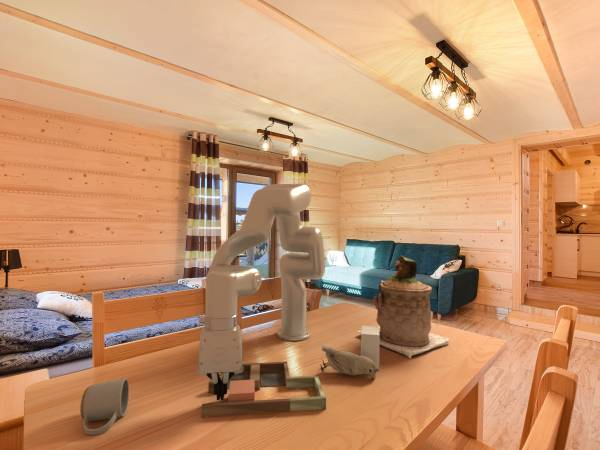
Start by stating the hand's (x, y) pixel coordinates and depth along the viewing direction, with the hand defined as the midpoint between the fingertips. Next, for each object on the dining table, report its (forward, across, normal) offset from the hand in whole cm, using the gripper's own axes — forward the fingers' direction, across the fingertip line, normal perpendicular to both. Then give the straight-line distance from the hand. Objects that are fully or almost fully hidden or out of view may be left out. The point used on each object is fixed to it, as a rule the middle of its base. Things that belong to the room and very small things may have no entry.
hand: (220, 396), depth 76 cm
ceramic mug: (+2, -24, -4) cm, 25 cm away
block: (+2, +5, 0) cm, 5 cm away
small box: (+2, +43, +16) cm, 46 cm away
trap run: (+1, +11, +5) cm, 12 cm away
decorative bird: (+2, +34, +10) cm, 36 cm away
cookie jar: (+1, +62, +34) cm, 71 cm away
